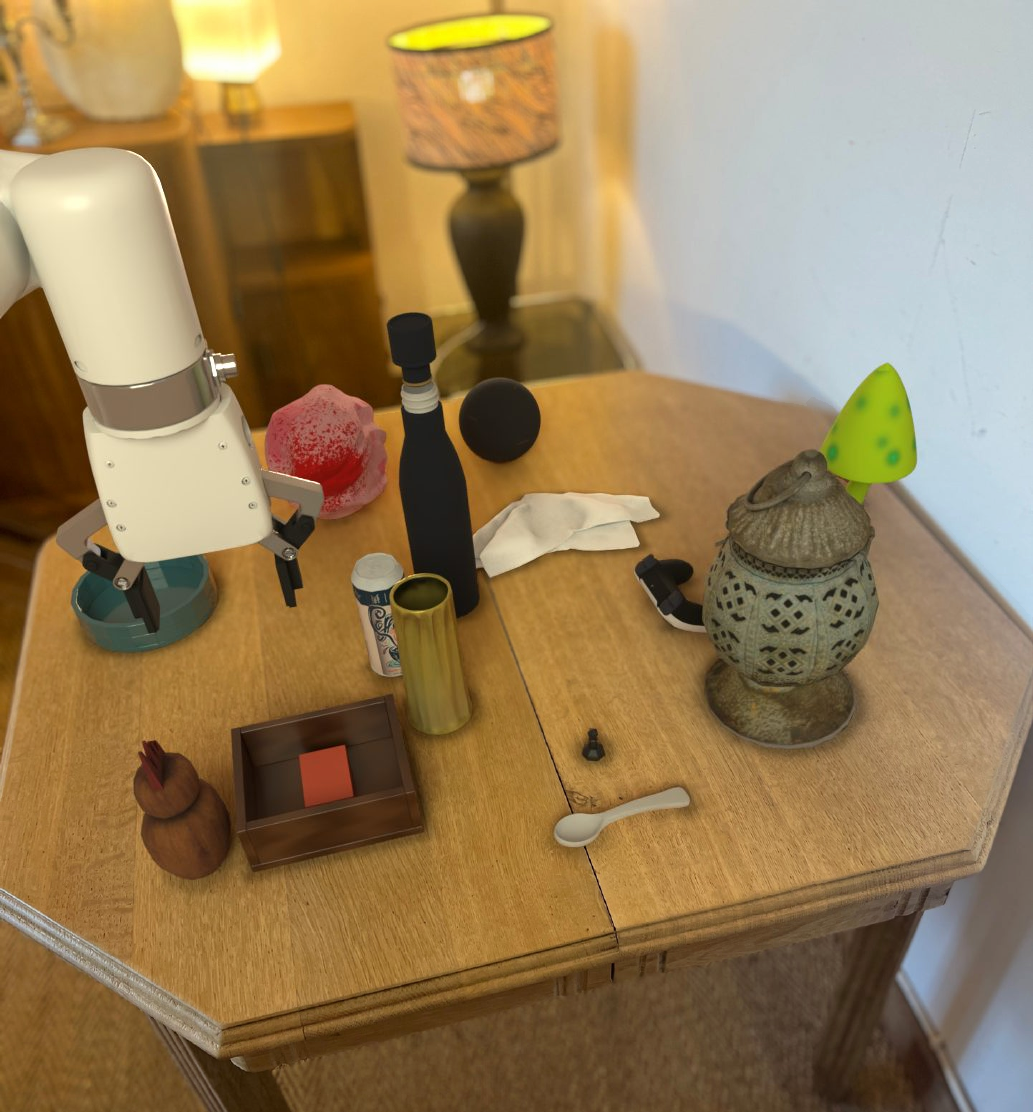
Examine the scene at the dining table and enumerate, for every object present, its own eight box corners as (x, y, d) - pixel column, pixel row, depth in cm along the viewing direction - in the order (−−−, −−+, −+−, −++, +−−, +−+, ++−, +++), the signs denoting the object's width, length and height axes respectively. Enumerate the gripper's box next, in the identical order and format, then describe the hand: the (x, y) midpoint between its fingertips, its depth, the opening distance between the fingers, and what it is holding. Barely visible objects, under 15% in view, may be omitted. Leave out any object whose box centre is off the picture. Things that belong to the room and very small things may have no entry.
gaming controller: (663, 593, 105) (619, 567, 100) (692, 562, 103) (648, 535, 99) (707, 656, 97) (661, 631, 93) (738, 624, 95) (694, 596, 91)
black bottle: (406, 607, 102) (355, 328, 82) (444, 574, 106) (404, 300, 85) (455, 627, 100) (414, 344, 79) (491, 593, 103) (462, 313, 82)
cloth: (638, 478, 117) (638, 462, 116) (676, 543, 107) (677, 526, 106) (424, 516, 114) (421, 500, 113) (443, 586, 105) (440, 569, 103)
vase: (468, 684, 93) (452, 564, 83) (477, 730, 89) (461, 609, 79) (405, 695, 93) (381, 575, 83) (411, 741, 89) (386, 621, 79)
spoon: (547, 831, 80) (547, 815, 79) (676, 791, 83) (679, 776, 82) (561, 858, 78) (562, 843, 77) (693, 817, 81) (696, 801, 80)
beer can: (393, 687, 94) (372, 589, 85) (361, 666, 96) (337, 568, 88) (429, 660, 96) (412, 562, 88) (397, 641, 99) (377, 543, 90)
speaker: (456, 477, 120) (447, 402, 113) (470, 435, 127) (462, 362, 120) (537, 479, 118) (533, 403, 112) (546, 436, 126) (543, 362, 119)
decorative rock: (409, 508, 106) (390, 365, 103) (275, 523, 103) (252, 376, 100) (390, 514, 124) (374, 392, 121) (276, 527, 121) (257, 402, 118)
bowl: (78, 665, 99) (65, 639, 97) (88, 582, 109) (76, 557, 107) (219, 636, 101) (210, 610, 99) (216, 557, 111) (207, 532, 109)
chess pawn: (576, 753, 86) (576, 730, 84) (592, 740, 87) (591, 717, 85) (594, 764, 85) (593, 741, 83) (609, 751, 86) (609, 727, 84)
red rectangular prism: (358, 814, 82) (353, 796, 80) (311, 825, 81) (305, 807, 80) (350, 762, 86) (345, 744, 84) (304, 773, 86) (298, 754, 84)
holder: (253, 872, 79) (235, 832, 76) (246, 769, 87) (230, 728, 84) (423, 832, 81) (415, 791, 77) (401, 734, 89) (392, 693, 86)
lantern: (769, 775, 83) (812, 530, 66) (665, 681, 92) (678, 444, 75) (888, 706, 88) (957, 462, 70) (777, 623, 97) (814, 388, 79)
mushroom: (829, 632, 95) (879, 395, 78) (778, 585, 101) (815, 354, 84) (899, 606, 97) (963, 370, 80) (846, 561, 103) (895, 332, 86)
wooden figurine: (219, 896, 78) (158, 772, 67) (152, 888, 79) (82, 765, 68) (250, 829, 82) (198, 703, 72) (186, 822, 83) (126, 697, 73)
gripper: (291, 338, 62) (337, 557, 74) (7, 380, 60) (102, 599, 72) (301, 392, 57) (349, 618, 69) (-10, 440, 54) (96, 666, 66)
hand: (223, 608), depth 70 cm, fingers open, 9 cm apart
